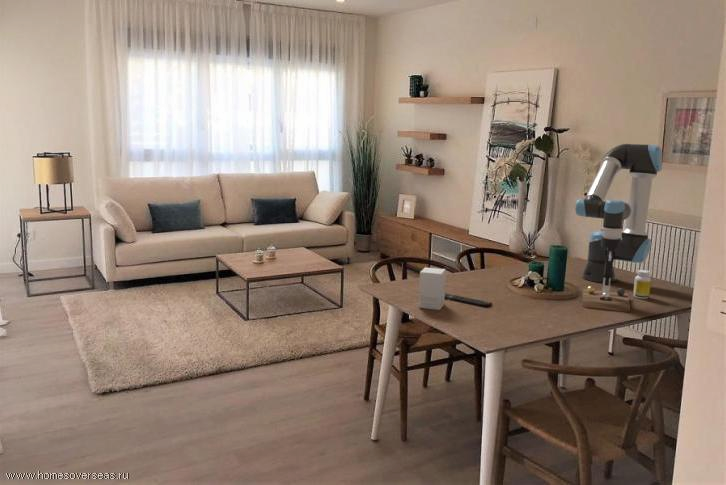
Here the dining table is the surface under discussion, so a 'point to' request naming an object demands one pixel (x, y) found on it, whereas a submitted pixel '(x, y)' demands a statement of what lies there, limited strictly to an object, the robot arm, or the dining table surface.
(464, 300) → the remote control
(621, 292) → the rubber ball
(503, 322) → the dining table surface
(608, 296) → the steel ball
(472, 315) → the dining table surface
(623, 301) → the board
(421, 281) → the supplement box
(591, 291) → the brass ball
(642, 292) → the pill bottle
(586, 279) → the robot arm
